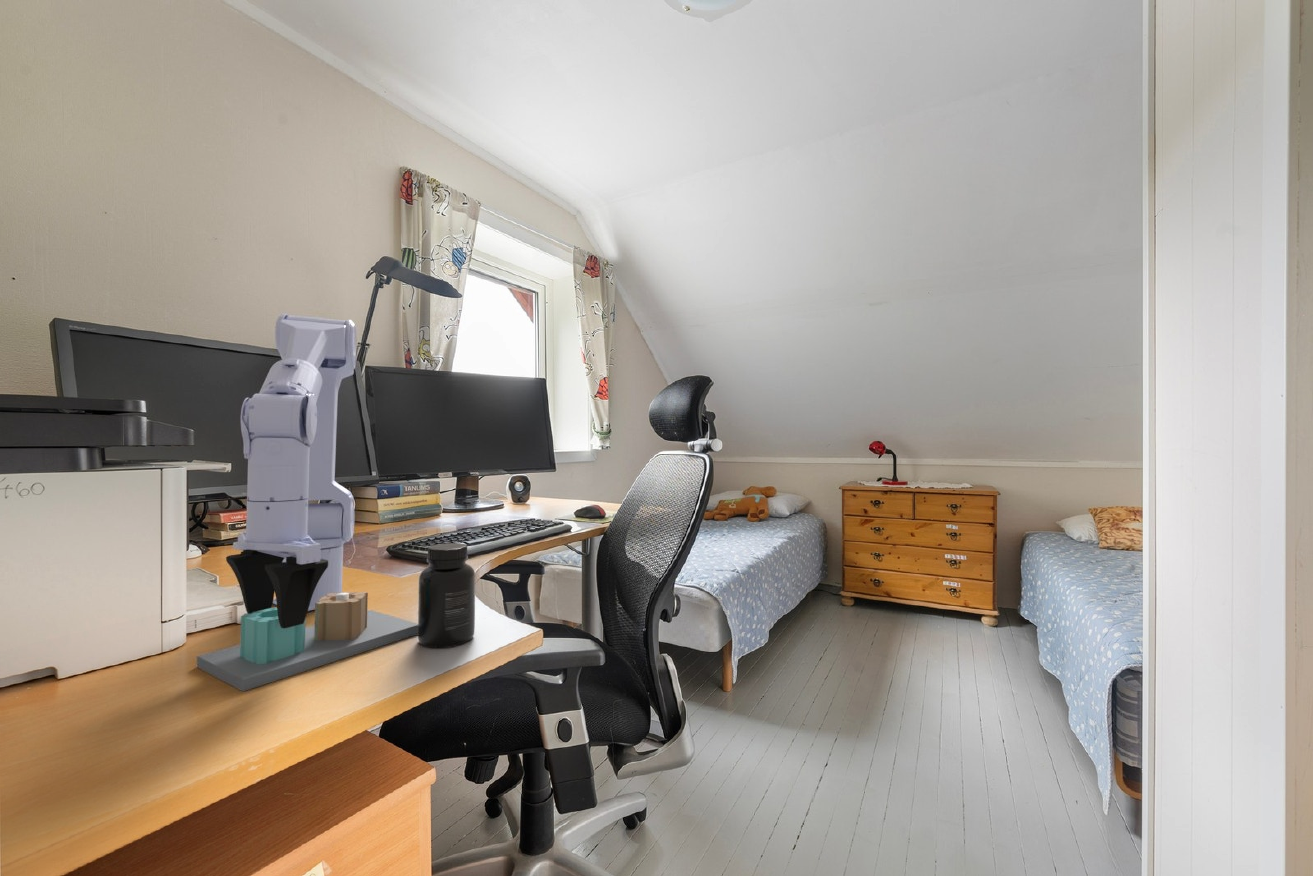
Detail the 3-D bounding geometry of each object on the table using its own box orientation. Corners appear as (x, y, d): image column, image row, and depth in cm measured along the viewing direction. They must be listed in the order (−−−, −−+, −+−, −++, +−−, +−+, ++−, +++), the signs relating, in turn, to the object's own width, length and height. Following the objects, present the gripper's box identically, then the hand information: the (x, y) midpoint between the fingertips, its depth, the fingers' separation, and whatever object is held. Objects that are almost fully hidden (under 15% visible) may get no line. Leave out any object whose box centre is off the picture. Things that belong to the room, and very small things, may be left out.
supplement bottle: (477, 629, 73) (480, 540, 73) (470, 648, 66) (472, 551, 66) (424, 631, 72) (426, 541, 72) (410, 650, 65) (413, 552, 65)
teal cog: (237, 655, 60) (238, 615, 60) (285, 642, 64) (286, 604, 64) (259, 665, 57) (260, 623, 57) (307, 650, 62) (308, 611, 62)
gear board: (196, 666, 60) (198, 611, 60) (371, 618, 77) (372, 575, 77) (242, 691, 54) (244, 630, 54) (419, 633, 71) (420, 587, 71)
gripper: (207, 497, 61) (204, 617, 61) (270, 507, 54) (266, 643, 54) (276, 493, 67) (273, 602, 67) (341, 501, 60) (338, 623, 60)
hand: (275, 619), depth 61 cm, fingers open, 7 cm apart
